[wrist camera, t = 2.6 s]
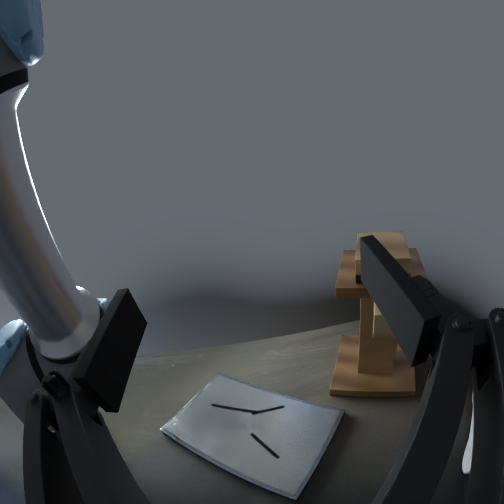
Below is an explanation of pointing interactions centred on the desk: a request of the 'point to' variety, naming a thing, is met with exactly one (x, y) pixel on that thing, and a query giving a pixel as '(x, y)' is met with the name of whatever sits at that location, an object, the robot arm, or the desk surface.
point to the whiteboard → (256, 434)
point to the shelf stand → (370, 345)
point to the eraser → (401, 253)
